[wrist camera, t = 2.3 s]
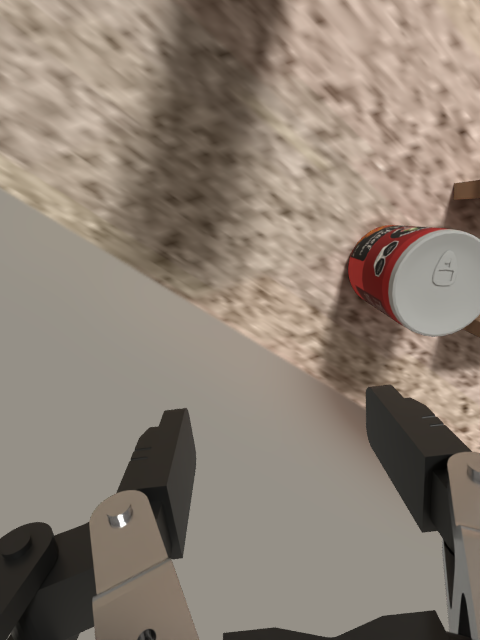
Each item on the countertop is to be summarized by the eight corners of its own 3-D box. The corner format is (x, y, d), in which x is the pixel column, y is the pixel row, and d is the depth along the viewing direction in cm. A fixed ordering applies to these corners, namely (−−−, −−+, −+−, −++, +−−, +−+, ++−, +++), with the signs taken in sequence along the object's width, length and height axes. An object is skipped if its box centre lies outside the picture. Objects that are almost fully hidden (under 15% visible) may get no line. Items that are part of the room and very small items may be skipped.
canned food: (416, 216, 35) (496, 217, 24) (423, 293, 37) (498, 324, 26) (339, 235, 35) (385, 244, 25) (351, 310, 37) (397, 347, 27)
